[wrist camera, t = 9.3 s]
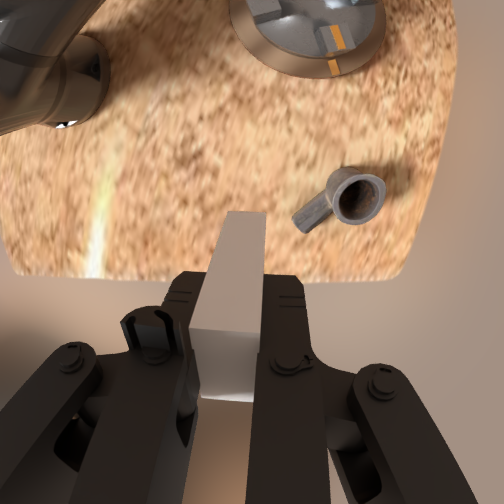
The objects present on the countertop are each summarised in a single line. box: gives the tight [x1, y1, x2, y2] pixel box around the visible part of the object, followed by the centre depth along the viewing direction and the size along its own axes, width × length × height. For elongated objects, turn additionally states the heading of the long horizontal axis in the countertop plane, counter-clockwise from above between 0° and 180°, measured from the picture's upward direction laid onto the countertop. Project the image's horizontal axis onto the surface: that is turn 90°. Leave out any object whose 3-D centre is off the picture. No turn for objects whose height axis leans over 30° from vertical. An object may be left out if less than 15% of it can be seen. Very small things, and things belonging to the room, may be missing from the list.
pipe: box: [292, 167, 386, 234], centre depth 37 cm, size 6×13×8 cm, turn 134°
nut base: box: [229, 0, 386, 79], centre depth 27 cm, size 20×20×2 cm
